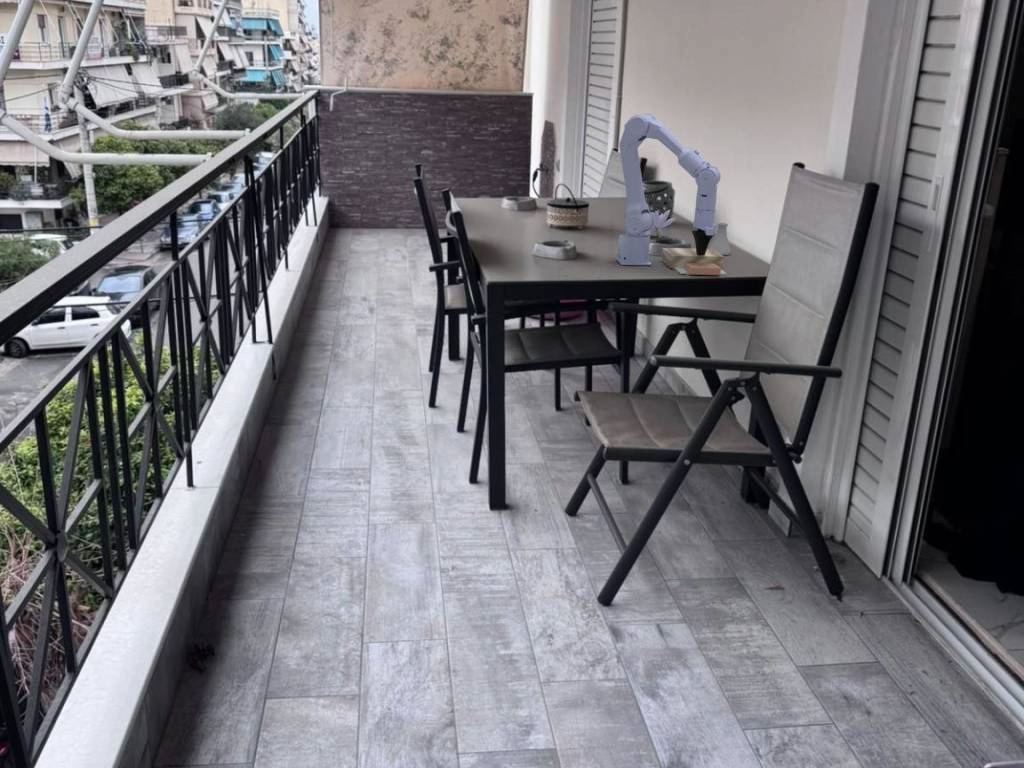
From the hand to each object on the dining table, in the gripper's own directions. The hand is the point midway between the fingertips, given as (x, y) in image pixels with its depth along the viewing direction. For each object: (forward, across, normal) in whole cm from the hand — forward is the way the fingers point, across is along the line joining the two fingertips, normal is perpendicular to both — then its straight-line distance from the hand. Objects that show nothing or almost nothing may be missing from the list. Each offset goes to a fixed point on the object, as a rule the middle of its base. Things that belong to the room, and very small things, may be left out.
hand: (700, 255), depth 274 cm
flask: (+5, +26, -14) cm, 30 cm away
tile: (+2, -4, 0) cm, 5 cm away
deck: (+5, +8, 0) cm, 10 cm away
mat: (+5, -2, 0) cm, 5 cm away
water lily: (+5, +53, +2) cm, 53 cm away
